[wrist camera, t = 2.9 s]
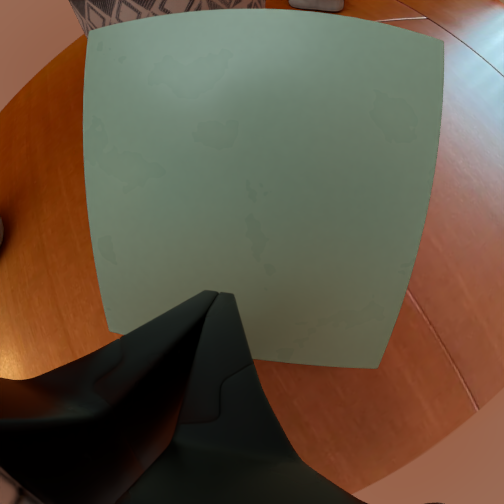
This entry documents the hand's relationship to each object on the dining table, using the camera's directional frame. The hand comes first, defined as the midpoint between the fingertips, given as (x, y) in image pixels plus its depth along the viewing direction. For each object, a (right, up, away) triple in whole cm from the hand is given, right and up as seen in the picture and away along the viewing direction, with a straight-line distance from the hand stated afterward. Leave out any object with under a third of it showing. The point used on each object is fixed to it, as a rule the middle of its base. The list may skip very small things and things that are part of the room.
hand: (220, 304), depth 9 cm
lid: (+1, +3, +3) cm, 5 cm away
